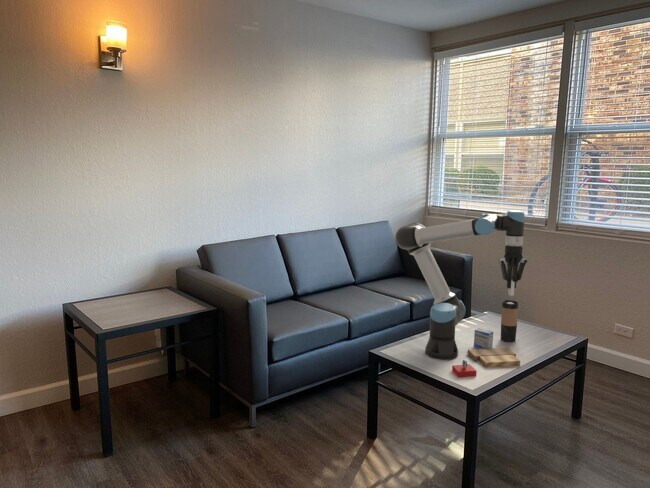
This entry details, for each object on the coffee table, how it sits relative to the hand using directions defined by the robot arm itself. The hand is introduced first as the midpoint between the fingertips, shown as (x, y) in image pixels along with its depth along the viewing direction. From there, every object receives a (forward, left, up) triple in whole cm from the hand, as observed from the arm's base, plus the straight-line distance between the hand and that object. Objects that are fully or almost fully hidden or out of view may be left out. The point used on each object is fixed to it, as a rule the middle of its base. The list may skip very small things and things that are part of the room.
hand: (510, 294), depth 236 cm
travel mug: (+10, +19, -30) cm, 37 cm away
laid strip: (-8, 0, -29) cm, 30 cm away
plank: (-8, -9, -29) cm, 32 cm away
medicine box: (-7, +11, -30) cm, 32 cm away
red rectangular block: (-28, -17, -30) cm, 44 cm away
